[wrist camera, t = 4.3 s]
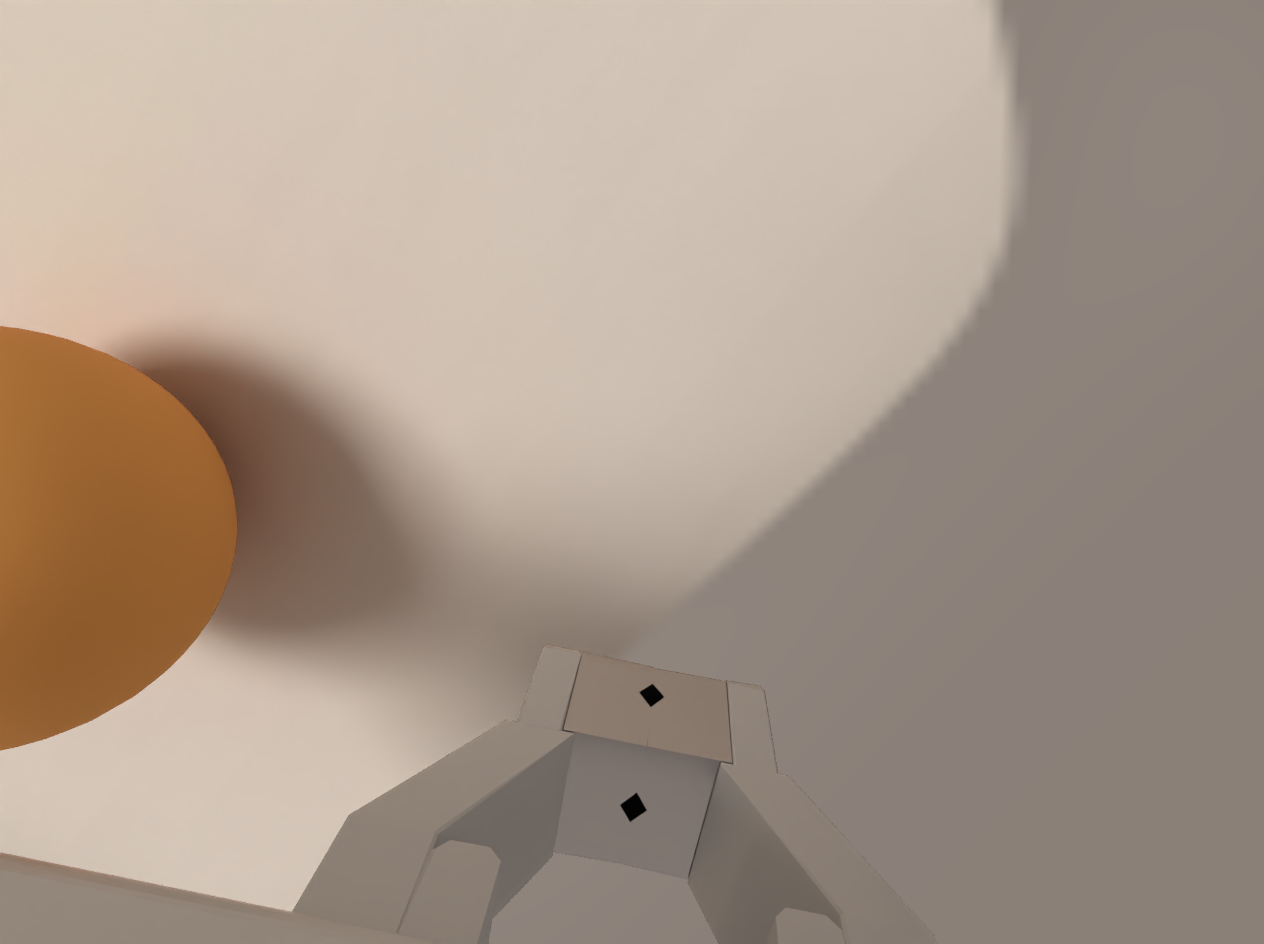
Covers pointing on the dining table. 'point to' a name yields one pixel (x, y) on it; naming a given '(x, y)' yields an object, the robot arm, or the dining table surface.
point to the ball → (99, 533)
